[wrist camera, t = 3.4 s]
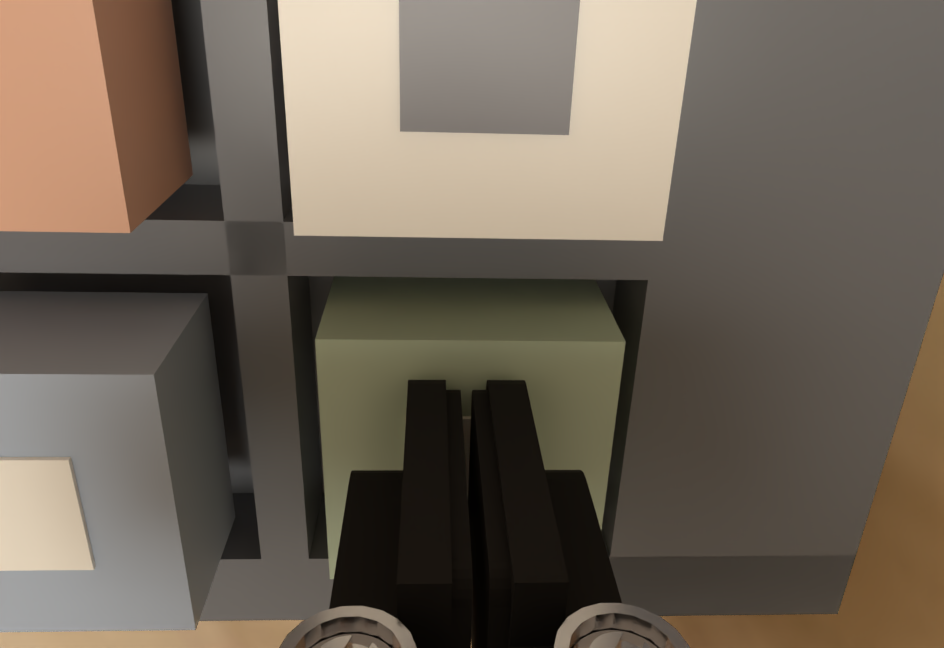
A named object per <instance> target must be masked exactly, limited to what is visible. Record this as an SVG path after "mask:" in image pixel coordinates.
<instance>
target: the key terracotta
mask: <svg viewBox="0 0 944 648" xmlns="http://www.w3.org/2000/svg"><path fill="white" fill-rule="evenodd" d="M192 175H193V172H192V163H191V155H190V147H189V139H188V131H187V123H186V115H185V107H184V99H183V91H182V83H181V75H180V67H179V59H178V51H177V43H176V35H175V27H174V19H173V10H172V2H171V0H0V231H22V232H90V233H131V232H132V231H133V230H134V229H135V228H136V227H138V226H139V225H140V224H141V223H142V222H143V221H144V220H145V219H146V218H147V217H148V216H149V215H150V214H152V213H153V212H154V211H155V210H156V209H157V208H158V207H159V206H160V205H161V204H162V203H163V202H164V201H166V200H167V199H168V198H169V197H170V196H171V195H172V194H173V193H174V192H175V191H176V190H177V189H178V188H179V187H181V186H182V185H183V184H184V183H185V182H186V181H187V180H188V179H189V178H190V177H191V176H192Z"/></svg>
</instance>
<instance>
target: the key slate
mask: <svg viewBox="0 0 944 648" xmlns="http://www.w3.org/2000/svg"><path fill="white" fill-rule="evenodd" d="M234 519H235V510H234V502H233V494H232V486H231V478H230V469H229V461H228V453H227V445H226V437H225V429H224V421H223V413H222V405H221V397H220V389H219V381H218V373H217V365H216V357H215V349H214V341H213V333H212V325H211V316H210V308H209V300H208V293H136V292H43V291H0V632H58V631H145V630H196V628H197V625H198V622H199V619H200V616H201V613H202V610H203V608H204V605H205V602H206V599H207V596H208V593H209V590H210V588H211V585H212V582H213V579H214V576H215V573H216V571H217V568H218V565H219V562H220V559H221V556H222V553H223V551H224V548H225V545H226V542H227V539H228V536H229V533H230V531H231V528H232V525H233V522H234Z"/></svg>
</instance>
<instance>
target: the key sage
mask: <svg viewBox="0 0 944 648" xmlns="http://www.w3.org/2000/svg"><path fill="white" fill-rule="evenodd" d="M625 343H626V341H625V339H624V337H623V335H622V333H621V331H620V329H619V327H618V325H617V323H616V321H615V319H614V317H613V315H612V313H611V311H610V309H609V307H608V305H607V303H606V301H605V299H604V297H603V295H602V293H601V290H600V288H599V286H598V284H597V282H596V280H595V279H512V278H428V277H345V276H334V279H333V282H332V286H331V289H330V292H329V295H328V299H327V302H326V305H325V308H324V312H323V315H322V318H321V322H320V325H319V328H318V331H317V335H316V338H315V347H316V363H317V379H318V395H319V412H320V428H321V444H322V460H323V476H324V492H325V509H326V525H327V541H328V557H329V573H330V579H334V574H335V568H336V561H337V555H338V548H339V542H340V535H341V529H342V523H343V516H344V510H345V503H346V497H347V490H348V484H349V478H350V473H351V471H352V470H403V461H404V443H405V425H406V407H407V389H408V380H446V390H461V402H462V418H463V433H464V449H465V464H466V479H467V495H468V485H469V456H470V428H471V400H472V390H486V383H487V380H525V382H526V385H527V390H528V395H529V399H530V404H531V409H532V413H533V418H534V422H535V427H536V432H537V436H538V441H539V446H540V450H541V455H542V460H543V464H544V469H545V470H581V471H583V472H584V475H585V477H586V480H587V484H588V487H589V490H590V494H591V497H592V501H593V504H594V508H595V511H596V515H597V518H598V521H599V525H600V528H601V530H602V522H603V514H604V506H605V498H606V491H607V483H608V475H609V467H610V460H611V452H612V444H613V436H614V429H615V421H616V413H617V405H618V397H619V390H620V382H621V374H622V366H623V359H624V351H625Z"/></svg>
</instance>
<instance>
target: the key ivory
mask: <svg viewBox="0 0 944 648" xmlns="http://www.w3.org/2000/svg"><path fill="white" fill-rule="evenodd" d="M696 3H697V0H278V13H279V27H280V41H281V56H282V70H283V84H284V98H285V113H286V127H287V141H288V155H289V170H290V184H291V198H292V212H293V227H294V236H362V237H431V238H499V239H567V240H635V241H663V234H664V227H665V220H666V213H667V206H668V199H669V192H670V185H671V178H672V171H673V164H674V157H675V150H676V143H677V136H678V129H679V122H680V115H681V108H682V101H683V94H684V87H685V80H686V73H687V66H688V59H689V52H690V45H691V38H692V31H693V24H694V17H695V10H696Z"/></svg>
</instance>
